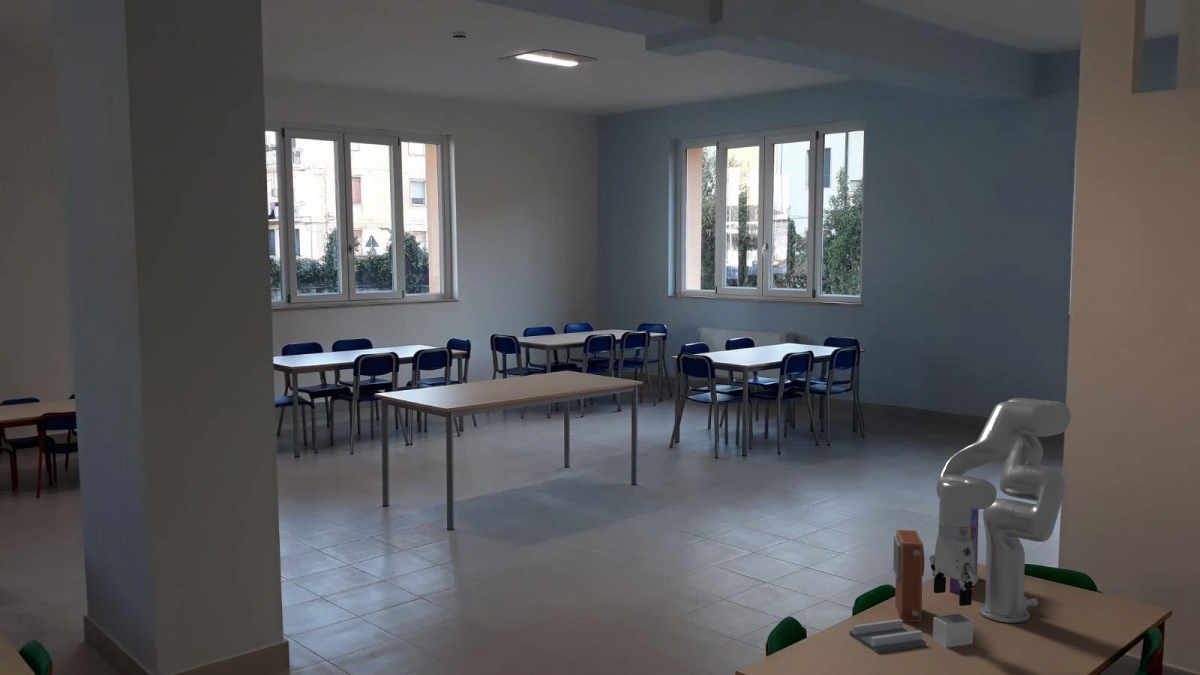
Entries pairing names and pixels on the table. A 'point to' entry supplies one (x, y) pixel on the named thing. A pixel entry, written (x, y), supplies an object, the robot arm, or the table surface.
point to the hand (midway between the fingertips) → (952, 598)
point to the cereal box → (954, 583)
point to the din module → (953, 630)
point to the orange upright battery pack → (908, 574)
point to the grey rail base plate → (887, 636)
